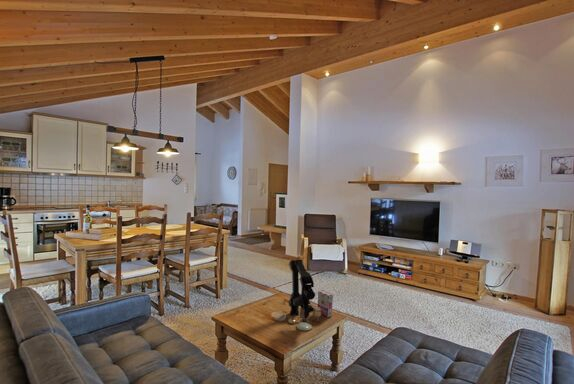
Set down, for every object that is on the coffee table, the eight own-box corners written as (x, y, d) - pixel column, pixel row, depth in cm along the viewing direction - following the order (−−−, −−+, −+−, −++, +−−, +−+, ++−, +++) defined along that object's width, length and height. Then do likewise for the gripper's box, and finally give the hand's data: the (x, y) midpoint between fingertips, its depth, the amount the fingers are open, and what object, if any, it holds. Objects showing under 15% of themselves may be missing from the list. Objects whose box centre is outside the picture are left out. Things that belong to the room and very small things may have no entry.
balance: (289, 324, 206) (289, 317, 205) (287, 320, 211) (287, 314, 211) (321, 321, 212) (322, 315, 211) (319, 318, 217) (319, 311, 217)
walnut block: (299, 316, 204) (300, 308, 204) (306, 315, 205) (307, 308, 205) (301, 319, 199) (302, 312, 199) (309, 318, 200) (309, 311, 200)
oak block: (313, 312, 215) (313, 307, 215) (318, 312, 216) (318, 306, 216) (315, 315, 211) (315, 309, 211) (320, 314, 212) (320, 309, 212)
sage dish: (297, 323, 208) (297, 321, 208) (311, 324, 207) (311, 323, 207) (296, 330, 198) (296, 329, 198) (311, 331, 197) (311, 330, 197)
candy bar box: (332, 316, 221) (333, 294, 220) (327, 318, 218) (328, 295, 217) (321, 310, 230) (322, 289, 229) (316, 312, 227) (317, 290, 226)
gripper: (290, 289, 209) (289, 311, 209) (297, 300, 190) (296, 324, 191) (305, 288, 211) (304, 310, 212) (314, 299, 193) (313, 322, 194)
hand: (304, 316), depth 202 cm, fingers closed on walnut block, 5 cm apart
